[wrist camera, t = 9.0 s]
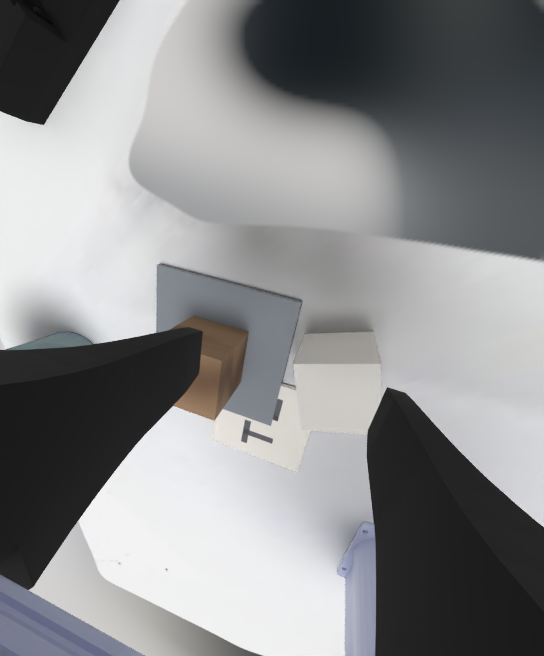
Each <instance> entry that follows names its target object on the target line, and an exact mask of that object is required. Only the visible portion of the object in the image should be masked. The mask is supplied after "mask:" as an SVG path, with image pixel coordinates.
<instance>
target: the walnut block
mask: <svg viewBox="0 0 544 656" xmlns="http://www.w3.org/2000/svg"><path fill="white" fill-rule="evenodd" d="M184 327H191V328H194V329H197V330H201V331H203V336H202V348H201V359H200V370H199V375H198V376H197V378H196V379H195V380H194V382H193V383H192V385H191V386H190V387H189V389H188V390H187V391H186V393H185V394H184V395H183V396H182V397H181V398H180V399H179V400H178V401H177V402H176V403H175V404H174V405H173V406H176V407H178V408H181V409H184V410H187V411H189V412H192V413H195V414H198V415H201V416H203V417H206V418H209V419H212V420H214V421H215V419H216V418H217V417H218V415H219V414H220V412H221V411H222V409H223V408H224V406H225V405H226V403H227V402H228V400H229V399H230V398H231V396H232V395H233V393H234V392H235V390H236V389H237V387H238V386H239V384H240V383H241V378H242V372H243V366H244V359H245V353H246V347H247V341H248V334H249V332H248V331H244V330H241V329H237V328H234V327H230V326H227V325H223V324H220V323H217V322H213V321H210V320H206V319H203V318H199V317H196V316H192V317H190V318H188V319H187V320H185V321H183V322H181V323H180V324H178V325H176V326H175V327H173V328H171V329H169V330H172V329H178V328H184Z"/></svg>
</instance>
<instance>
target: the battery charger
mask: <svg viewBox="0 0 544 656" xmlns="http://www.w3.org/2000/svg"><path fill="white" fill-rule="evenodd" d="M118 2H119V0H0V111H1V112H4V113H6V114H9V115H11V116H14V117H17V118H19V119H22V120H24V121H27V122H32V123H37V124H42V125H44V124H45V122H46V120H47V119H48V117H49V115H50V114H51V112H52V110H53V109H54V107H55V106H56V104H57V102H58V101H59V99H60V97H61V96H62V94H63V92H64V91H65V89H66V87H67V86H68V84H69V83H70V81H71V79H72V78H73V76H74V74H75V73H76V71H77V69H78V68H79V66H80V64H81V63H82V61H83V60H84V58H85V56H86V55H87V53H88V51H89V50H90V48H91V46H92V45H93V43H94V41H95V40H96V38H97V37H98V35H99V33H100V32H101V30H102V28H103V27H104V25H105V23H106V22H107V20H108V18H109V17H110V15H111V14H112V12H113V10H114V9H115V7H116V5H117V4H118Z"/></svg>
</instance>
